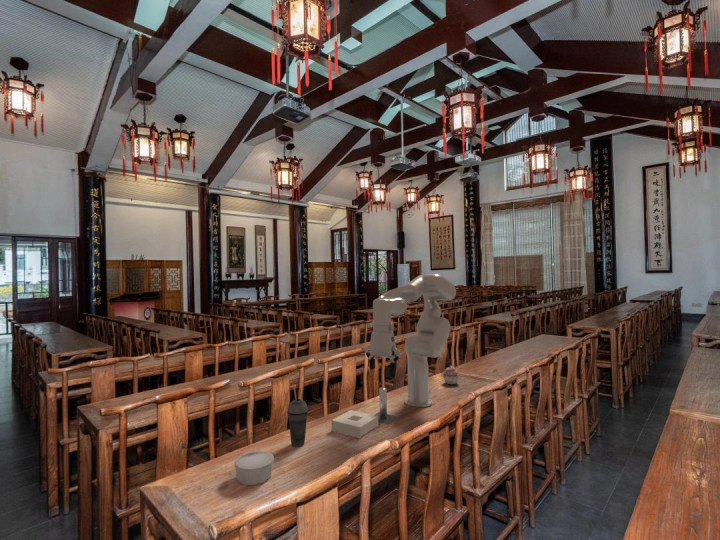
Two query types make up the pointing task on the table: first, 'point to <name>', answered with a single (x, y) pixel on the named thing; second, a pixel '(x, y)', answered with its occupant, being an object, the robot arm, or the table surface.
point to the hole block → (354, 423)
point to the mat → (386, 421)
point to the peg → (383, 403)
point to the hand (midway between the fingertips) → (382, 370)
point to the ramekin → (254, 467)
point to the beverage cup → (297, 421)
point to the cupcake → (451, 375)
